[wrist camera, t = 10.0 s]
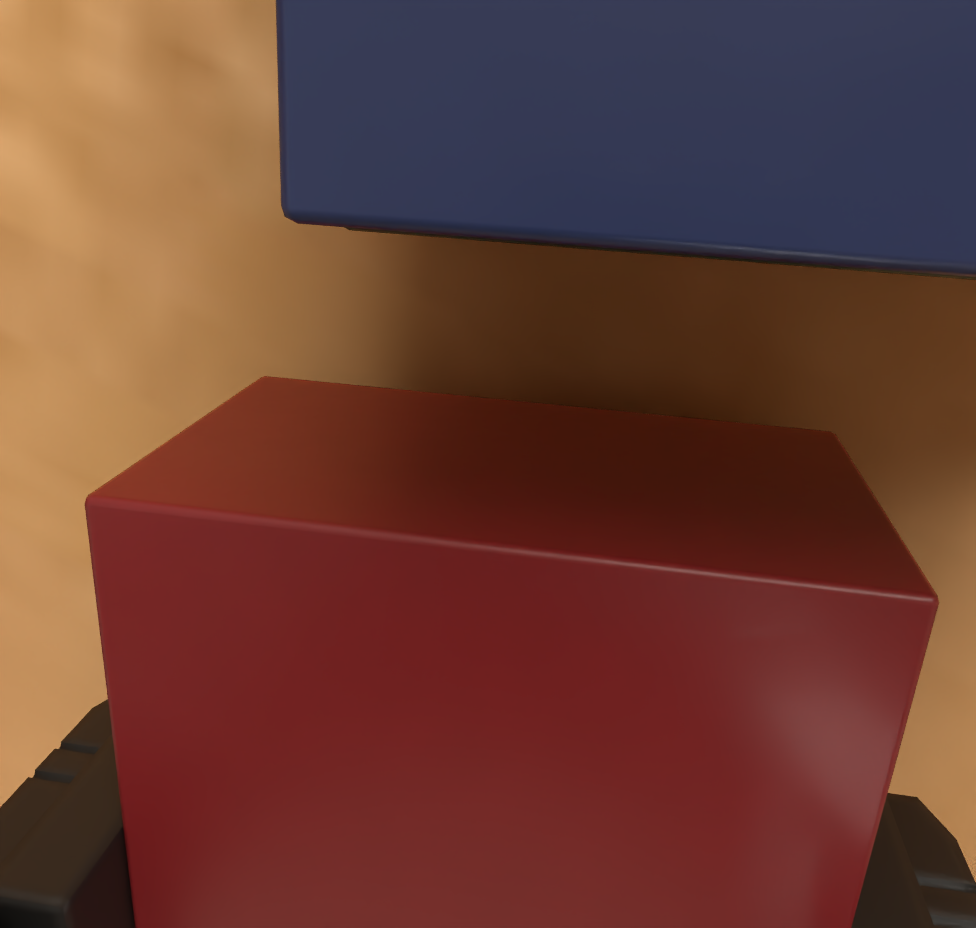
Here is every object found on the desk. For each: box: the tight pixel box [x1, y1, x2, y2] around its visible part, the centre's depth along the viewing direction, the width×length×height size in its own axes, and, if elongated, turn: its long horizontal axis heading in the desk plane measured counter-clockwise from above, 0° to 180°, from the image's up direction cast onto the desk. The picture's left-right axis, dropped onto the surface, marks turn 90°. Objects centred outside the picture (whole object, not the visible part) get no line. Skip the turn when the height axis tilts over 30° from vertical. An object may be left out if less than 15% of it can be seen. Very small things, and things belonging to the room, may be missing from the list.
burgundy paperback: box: [85, 376, 939, 928], centre depth 9 cm, size 8×6×3 cm
